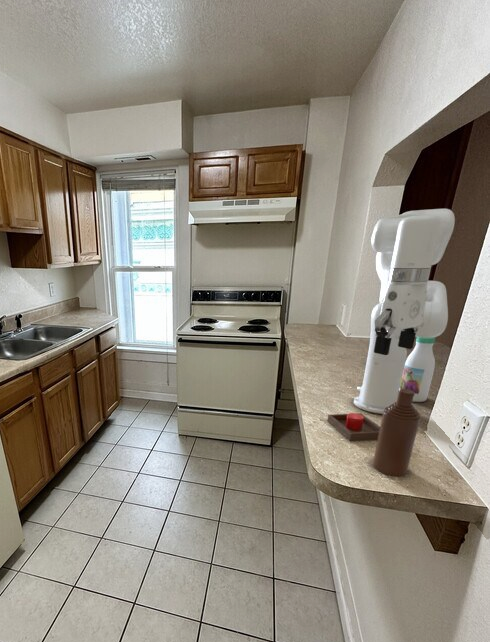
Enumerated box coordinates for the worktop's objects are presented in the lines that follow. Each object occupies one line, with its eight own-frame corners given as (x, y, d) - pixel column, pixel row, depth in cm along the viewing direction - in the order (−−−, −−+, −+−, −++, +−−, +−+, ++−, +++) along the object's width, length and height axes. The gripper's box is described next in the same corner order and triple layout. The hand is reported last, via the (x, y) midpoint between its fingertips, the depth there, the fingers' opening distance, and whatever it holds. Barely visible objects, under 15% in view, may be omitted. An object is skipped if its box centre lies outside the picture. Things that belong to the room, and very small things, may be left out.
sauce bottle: (366, 460, 80) (381, 386, 74) (393, 459, 80) (410, 385, 74) (384, 477, 74) (402, 397, 68) (414, 475, 74) (434, 396, 68)
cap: (353, 431, 92) (355, 420, 91) (342, 425, 95) (343, 414, 94) (365, 429, 93) (367, 417, 92) (353, 423, 97) (355, 412, 96)
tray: (327, 421, 99) (328, 414, 99) (359, 419, 100) (360, 413, 99) (349, 440, 89) (350, 433, 88) (385, 438, 89) (387, 431, 88)
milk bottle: (415, 393, 117) (429, 333, 110) (432, 402, 110) (448, 339, 103) (392, 394, 117) (405, 334, 110) (408, 403, 110) (422, 339, 103)
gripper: (403, 279, 72) (387, 360, 78) (447, 275, 80) (429, 348, 86) (368, 278, 78) (355, 352, 84) (412, 274, 86) (398, 342, 92)
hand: (393, 350), depth 85 cm, fingers open, 9 cm apart
